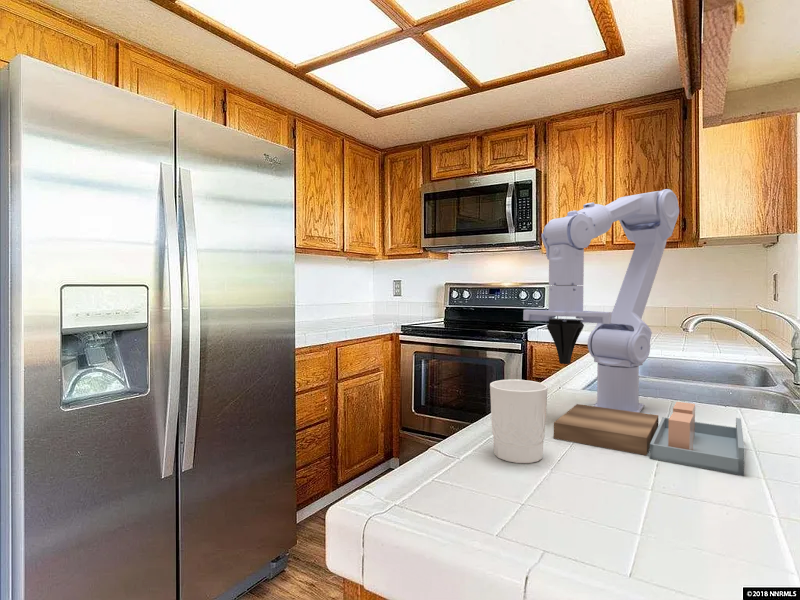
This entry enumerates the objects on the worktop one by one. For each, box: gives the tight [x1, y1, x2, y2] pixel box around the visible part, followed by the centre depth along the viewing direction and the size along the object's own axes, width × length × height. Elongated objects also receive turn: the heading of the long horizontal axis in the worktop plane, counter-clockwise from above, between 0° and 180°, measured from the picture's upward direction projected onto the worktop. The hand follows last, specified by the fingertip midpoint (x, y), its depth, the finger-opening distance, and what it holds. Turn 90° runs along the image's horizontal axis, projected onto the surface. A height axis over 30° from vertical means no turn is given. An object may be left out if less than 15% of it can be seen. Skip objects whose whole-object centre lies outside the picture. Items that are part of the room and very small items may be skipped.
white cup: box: [489, 379, 549, 464], centre depth 66 cm, size 8×8×10 cm
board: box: [553, 403, 659, 456], centre depth 75 cm, size 14×13×2 cm
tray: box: [649, 417, 745, 477], centre depth 68 cm, size 16×10×4 cm, turn 145°
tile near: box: [668, 411, 694, 450], centre depth 65 cm, size 5×5×2 cm
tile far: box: [672, 401, 696, 440], centre depth 71 cm, size 5×5×2 cm
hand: (565, 363), depth 81 cm, fingers closed
